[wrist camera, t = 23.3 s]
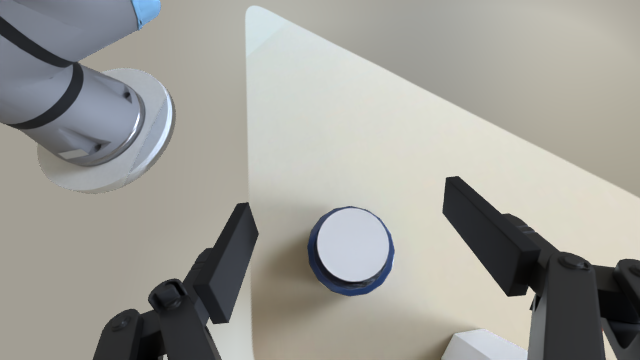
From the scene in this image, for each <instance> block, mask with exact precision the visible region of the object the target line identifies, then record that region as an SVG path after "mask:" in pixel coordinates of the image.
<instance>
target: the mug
mask: <svg viewBox="0 0 640 360" xmlns="http://www.w3.org/2000/svg"><path fill="white" fill-rule="evenodd" d="M527 356H528V351H527V350H525V349H523V348H521V347H519V346H518V345H516V344H514V343H512V342H510V341H508V340H506V339H504V338H502V337H500V336H498V335H496V334H494V333H492V332H490V331H488V330H486V329H484V328H483V329H478V330H472V331H466V332H460V333H455V334H454V335H453V337H452V339H451V341H450V343H449V345H448V346H447V348H446V350H445V352H444V354H443V356H442V358H441V360H527Z"/></svg>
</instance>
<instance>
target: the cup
mask: <svg viewBox="0 0 640 360" xmlns="http://www.w3.org/2000/svg"><path fill="white" fill-rule="evenodd" d="M347 208H357V207H353V206H348V207H342V208H336V209H333V210H332V211H330V212H328V213H327V214H325V215H324V216H322V217H321V218H320V219H319V221H318V222H317V223H316V225H315V226H314V227H313V229H312V231H311V234H310V238H309V241H308V245H307V249H308V257H309V264H310V266H311V268H312V270H313V272H314V274H315V275H316V277H317V279H318V280H319V281H320V282H321V283H322V284H324V285H325V286H326V287H327V288H328V289H330V290H331V291H333V292H336V293H339V294H343V295H346V296H356V295H363V294H367V293H369V292H371V291H372V290H374V289H375V288H377V287H379V286H380V285H382V283H383V282H384V281H385V279H386V277H387V276H388V274H389V273H390V271H391V270H392V265H393V259H394V253H395V250H394V246H393V241H392V237H391V234H390V232H389V230H388V229H387V228H386V226H385V225H384V223H383V222H382V220H380V218H378V217H377V216H375V215H374V214H372V213H371V212H369V211H368V210H366V209H362V208H357V209H361V210H365V211H367V212H369V213H371V214H372V215H374V216H375V217H376V218H377V219H378V220H379V221H380V222H381V223H382V225H383V227H384V228H385V230H386V233H387V236H388V241H389V252H388V256H387V259H386V262H385V264H384V265H383V267H382V268H381V270H380V271H379V272H377V273H376V274H375V275H374V276H372V277H370V278H369V279H366V280H362V281H355V282H353V281H346V280H343V279H340V278H338V277H336V276H335V275H333V274H332V273H331V272H330V271H328V270H327V268H326V267H325V266H324V265H323V263H322V261H321V259H320V256H319V253H318V247H317V240H318V234H319V231H320V228H321V226H322V225H323V223H324V222H325V221H326V219H327V218H328V217H329V216H331V215H332V214H333V213H335V212H337V211H339V210H342V209H347Z"/></svg>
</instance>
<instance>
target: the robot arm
mask: <svg viewBox="0 0 640 360" xmlns="http://www.w3.org/2000/svg"><path fill="white" fill-rule="evenodd" d="M160 9H161V4H160V0H0V122H1V123H3V124H6V125H8V126H11V127H13V128H16V129H18V130H20V131H22V132H24V133H25V134H26V135H28V136H29V137H30V138H32V139H33V140H35V141H36V142H37V143H39V144H40V145H41V146H43V147H44V148H45V149H47V150H48V151H49V152H51V153H52V154H54V155H55V156H56V157H58V158H60V159H62V160H64V161H66V162H69V163H72V164H75V165H78V166H83V167H92V166H98V165H101V164H105V163H107V162H109V161H111V160H113V159H115V158H117V157H118V156H120V155H121V154H122V153H124V152H125V151H126V150H127V149H128V148H129V147H130V146H131V145H132V144H133V143H134V141H135V140H136V139H137V137H138V136H139V134H140V132H141V130H142V128H143V125H144V122H145V116H146V109H145V104H144V101H143V99H142V97H141V96H140V95H139V94H138V93H137V92H136V91H135V90H134V89H132V88H131V87H130V86H128V85H127V84H125V83H123V82H121V81H119V80H117V79H114V78H112V77H110V76H107V75H105V74H102V73H100V72H98V71H95V70H93V69H90V68H88V67H85V66H83V65H81V64H80V63H78V61H79V60H81V59H83V58H85V57H87V56H89V55H91V54H93V53H95V52H97V51H98V50H100V49H102V48H104V47H106V46H108V45H110V44H112V43H114V42H116V41H117V40H119V39H121V38H123V37H125V36H127V35H129V34H131V33H132V32H135V31H137V30H140V29H141V28H142V26H143V25H145V24H146V23H148V22H149V21H151V20H152V19H154V18H155V17H156V16H158V14H159V12H160ZM442 213H443V214H444V215H445V217H446V218H447V219H448V220H449V222H450V223H451V224H452V226H453V227H454V228H455V229H456V231H457V232H458V233H459V235H460V236H461V237H462V238H463V240H464V241H465V242H466V244H467V245H468V246H469V247H470V249H471V250H472V251H473V253H474V254H475V255H476V256H477V258H478V259H479V260H480V262H481V263H482V264H483V265H484V267H485V268H486V269H487V271H488V272H489V273H490V274H491V276H492V277H493V278H494V280H495V281H496V282H497V283H498V285H499V286H500V287H501V289H502V290H503V291H504V292H505V294H506V295H507V296H508V297H510V296H521V295H526V292H527V289H528V287H529V286H530V287H531V289H532V290H533V291H534V292H535V293H536V294H535V296H534V299H533V302H532V304H531V307H530V309H529V310H532V319H531V328H530V337H529V347H528V356H527V360H606V358H605V350H604V341H603V333H602V329H603V331H604V333H605V335H606V337H607V339H608V341H609V343H610V345H611V347H612V349H613V351H614V353H615V356H616V358H617V360H640V261H639V260H635V259H623V260H620V261H619V262H618V263H617V265H616V267H615V268H614V267H606V266H597V265H591V264H590V263H589V262H588V261H587V260H585V259H583V258H582V257H580V256H577V255H574V254H572V253H567V252H560V251H559V250H558V249H556V248H555V247H554V246H553V245H551V244H550V243H549V242H548V241H547V240H545V239H544V238H543V237H542V236H540V235H539V234H538V233H537V232H535V231H534V230H533V229H532V228H531V227H528V225H527V224H526V223H525V222H523V221H522V220H521V219H519V218H517V217H515V216H513V215H511V214H501V213H500V212H499V211H498V210H496V209H495V208H494V207H493V206H492V205H491V204H490V203H488V202H487V201H486V200H485V199H484V198H483V197H482V196H480V195H479V194H478V193H477V192H476V191H475V190H474V189H472V188H471V187H470V186H469V185H468V184H467V183H466V182H464V181H463V180H462V179H461V178H460V177H459V176H455V177H447V178H446V183H445V193H444V202H443V212H442ZM258 235H259V233H258V230H257V227H256V224H255V221H254V218H253V215H252V212H251V209H250V206H249V203H248V202H247V203H239V204H237V205H236V207H235V209H234V211H233V213H232V214H231V216H230V218H229V220H228V222H227V223H226V225H225V227H224V229H223V231H222V233H221V234H220V236H219V238H218V240H217V242H216V243H215V245H214V247H213V248H206V249H205V250H204V251H203V252H202V253H201V254H200V255H199V256H198V258H197V259H196V261H195V264H194V265H193V266H192V268H191V270H190V271H189V273H188V275H187V276H186V278H185V279H184V281H183V283H182V282H181V281H180V280H179V279H170V280H167V281H164V282H162V283H161V284H159V285H158V286H157V287H155V288H154V289H153V290H152V291H151V293H150V295H149V297H148V301H149V303H150V304H151V306H152V307H153V309H154V310H152V311H149V312H146V313H143V314H139V312H138V311H137V310H135V309H129V310H125V311H123V312H121V313H119V314H117V315H116V316H115V317H114V318H112V319H111V320H110V321H109V322H108V323H107V324H106V325H105V327H104V329H103V331H102V334H101V337H100V340H99V343H98V346H97V348H96V352H95V354H94V357H93V360H163V355H165V354H167V357H168V360H222V359H221V357H220V355H219V352H218V350H217V348H216V346H215V343H214V341H213V339H212V336H211V334H210V333H209V330H208V328H207V326H206V323H207V321H208V319H209V317H210V319H211V321H212V323H213V324H220V323H229V320H230V317H231V314H232V311H233V307H234V305H235V302H236V299H237V296H238V293H239V290H240V288H241V285H242V282H243V278H244V276H245V273H246V270H247V267H248V264H249V261H250V258H251V255H252V252H253V249H254V246H255V243H256V240H257V237H258Z"/></svg>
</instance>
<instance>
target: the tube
mask: <svg viewBox="0 0 640 360" xmlns="http://www.w3.org/2000/svg"><path fill="white" fill-rule="evenodd" d="M317 247H318V253H319V256H320V259H321V261H322V263H323V265H324V266H325V267H326V268H327V270H328V271H330V272H331V273H332V274H333V275H335V276H336V277H338V278H340V279H343V280H346V281H353V282H355V281H362V280H366V279H369V278H370V277H372V276H374V275H375V274H376V273H377V272H379V271H380V270H381V268H382V267H383V265H384V264H385V262H386V259H387V256H388V252H389V241H388V236H387V233H386V230H385V228H384V227H383V225H382V223H381V222H380V221H379V220H378V219H377V218H376V217H375V216H374V215H372V214H371V213H369V212H367V211H365V210H361V209H357V208H347V209H342V210H339V211H337V212H335V213H333V214H332V215H331V216H329V217H328V218H327V219H326V221H325V222H324V223H323V225H322V226H321V228H320V231H319V234H318V240H317Z"/></svg>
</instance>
